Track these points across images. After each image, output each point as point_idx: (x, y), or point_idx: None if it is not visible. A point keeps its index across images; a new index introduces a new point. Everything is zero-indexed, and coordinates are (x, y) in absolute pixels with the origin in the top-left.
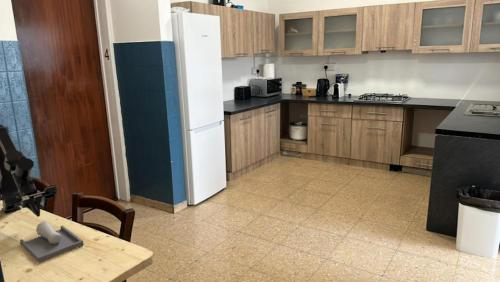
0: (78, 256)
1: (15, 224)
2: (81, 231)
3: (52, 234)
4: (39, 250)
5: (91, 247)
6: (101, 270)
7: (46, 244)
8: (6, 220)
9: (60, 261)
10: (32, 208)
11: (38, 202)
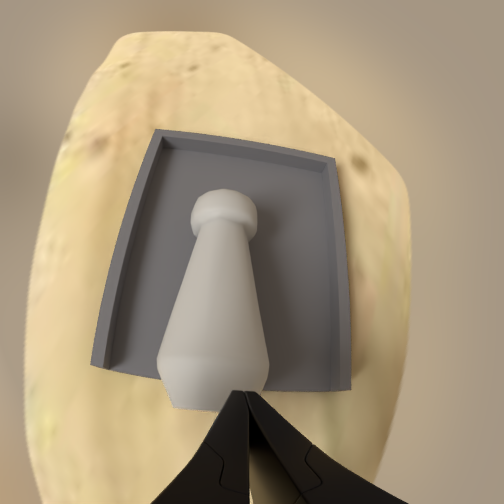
0: (218, 108)
1: None
2: (68, 252)
3: (239, 198)
4: (302, 237)
5: (155, 117)
6: (223, 49)
7: (256, 263)
8: None
9: (272, 126)
10: (311, 452)
11: (214, 480)
